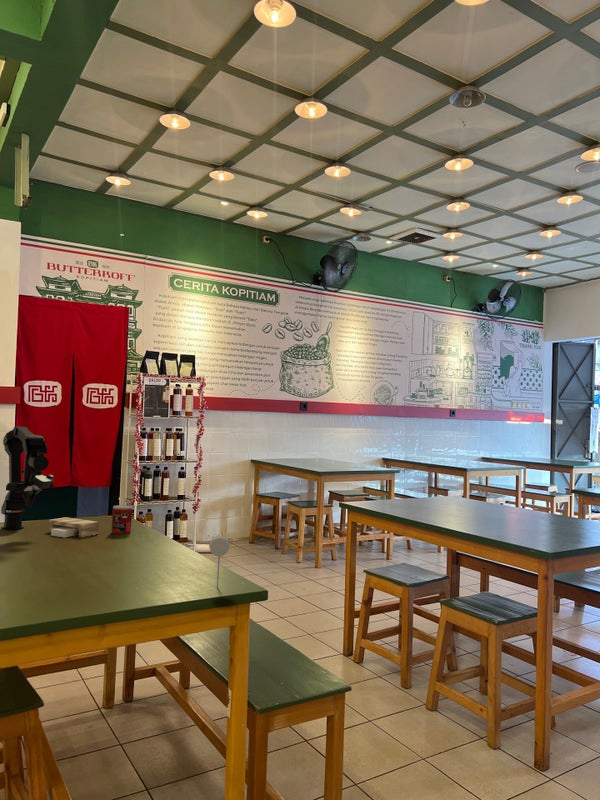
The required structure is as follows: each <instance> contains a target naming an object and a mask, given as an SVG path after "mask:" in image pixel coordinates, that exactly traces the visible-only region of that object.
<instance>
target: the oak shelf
mask: <svg viewBox="0 0 600 800" xmlns="http://www.w3.org/2000/svg"><path fill="white" fill-rule="evenodd" d="M66 526H68V527H75V528H79V532H75V533H74V536H73V537H76V536H77V535H78V536H77V537H78V538H87V537H91V535H92V536H95V535H96V534H97V535H99V529H100V528H99V527H100V521H94V520H86V519H80V518H74V517H73V518H72V517H61V518H60V517H59V518H53V519H49V521H48V533H50V534H51V529H55V528H61V527H66ZM97 535H96V536H97ZM86 536H87V537H86Z"/></svg>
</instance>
